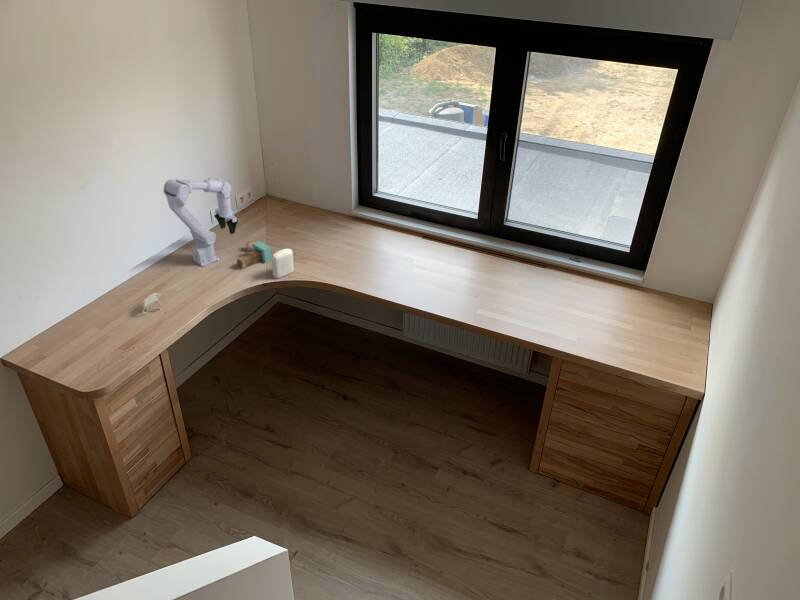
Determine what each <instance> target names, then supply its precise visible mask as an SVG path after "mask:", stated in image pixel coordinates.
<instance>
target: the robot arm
mask: <svg viewBox="0 0 800 600" xmlns="http://www.w3.org/2000/svg"><path fill="white" fill-rule="evenodd" d="M193 190H202V191H203V192H205V193H215V194H216V199H217V206H218V207H217V208H214V211H215V214H214V215H213V216H214V218H215V219H216V221H217V222H218V224H219V226H220V229H221V230H222V229H225V228H226V226H227V227H228V230H229V233H230V235H234V234H235V233H236V227H237V224H238V222H239V219H237V217H236V216H235V215H234V210H232V205H231V191H232V185H231V184H230V182H228V181H226V180H223V179H221V178H216V179H213V178H210V177H208V178H207V179H204V180H203V181H198V180H197V181H196V180H191V179H189V180H188V179H178V178H176V179H168V180H166V181H165V183H164V185H163V190H162V191H163V194H164V195H165V197H166V200H167V203H168V207H169V209H170V210H171V211H172V212H173V213H174V214H175V215H176V216H177V217H178V218H179V219H180V221H181V222H183V224H184V225H185V226H186V227H187V228H188V229H189V232H190V234H191V236H192V239H194V240H195V245H194V246H193V247H191V250H192V256H193V257H192V259H193V260H192V261H193V262H195V263H196V264H197V265H199V266H201V267H204V266H206V265H209V264H211V263H215V262H217V261H219V260H220V257H218V256H216V253H215V245H214V244H215V242H216V240H217V235H216V233H215V232H213V231H210V229H208V228H206V227H205V226H203V224H202V223H201V222H200V221H199V220H198V219H197V218H196V217H195V216H194V214H192V212H191V211H190V210H189V209H188V208H187V206H186V204H187V201H188V198H189V196H190V195H191V194H192V191H193ZM226 219H228V220H226Z"/></svg>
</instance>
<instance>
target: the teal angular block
mask: <svg viewBox="0 0 800 600" xmlns="http://www.w3.org/2000/svg"><path fill="white" fill-rule="evenodd" d="M253 242H254V243H252V248H253V252H252V253H254V252H256V251H258V250H260V251H262V261H261V262H263V263H264V264H266V263H269V262H272V255H273V254H271V252H272V248H271V246H269V245H267V244H266V243H264V242H262V241H261V240H257V241H253Z"/></svg>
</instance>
